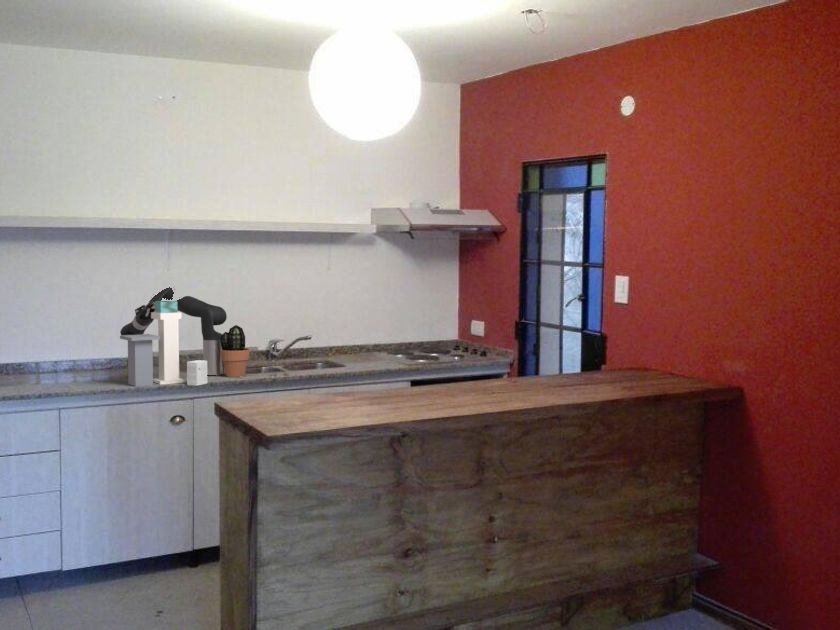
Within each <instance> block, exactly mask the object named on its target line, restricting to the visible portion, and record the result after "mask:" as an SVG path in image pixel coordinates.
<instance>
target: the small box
mask: <svg viewBox="0 0 840 630" xmlns="http://www.w3.org/2000/svg"><path fill="white" fill-rule="evenodd" d="M186 380H187V381H186V383H187V386H193V387H194V386H195V387H197V386H201V385H206V384H208V376H207V361H204V360H203V359H202V360H200V359H196V360H190V361H187V362H186Z"/></svg>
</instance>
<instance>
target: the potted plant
mask: <svg viewBox="0 0 840 630" xmlns="http://www.w3.org/2000/svg"><path fill="white" fill-rule="evenodd" d="M221 334H222V335H221V340H220V343H221V347H222V349H221V360H223V364H224V374H225V376H227V377H226V378H230V377H238V378H241V377H240V376H244V377H245V376H246V372H247V371H246V370H247V366H248V362H249V360H250V352H251V349H250V348H247V347H246V335H245V332H244V329H243V328H242V327H240V326H239V325H237V324H234V325H233V326H232V327H230V328H229V330H228V332H227V331H225V332H223V333H221Z"/></svg>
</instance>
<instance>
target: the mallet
mask: <svg viewBox="0 0 840 630" xmlns="http://www.w3.org/2000/svg"><path fill="white" fill-rule="evenodd" d="M147 304H149V302H148V303H147ZM153 304H154V305H153V306H152V309H155V313H178V312H179V311H178V310H177V301H155V303H153Z"/></svg>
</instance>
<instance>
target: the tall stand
mask: <svg viewBox="0 0 840 630" xmlns="http://www.w3.org/2000/svg"><path fill="white" fill-rule="evenodd" d="M182 315H183V312H180V311H178V313H155V312H151V318H152V319H154V320H157V329H158V332H157V336H160V339H157V340H158V344H157V345H158V377H157V378H155V377H154V378H153V382H155V383H154V384H156V383H158V384H157V385H170V384H180V383H182V384H183V383H184V379H183V378H180V346H179V345H180V341H179V340H180V338H179V337H180V336H179V335H180V334H179V333H180V329H179V328H180V327H179V325H180V324H179V320H181V319H182V318H183V317H182Z"/></svg>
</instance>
